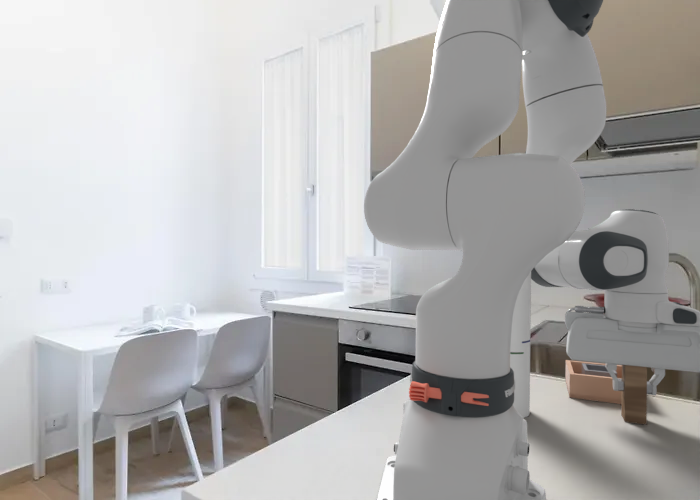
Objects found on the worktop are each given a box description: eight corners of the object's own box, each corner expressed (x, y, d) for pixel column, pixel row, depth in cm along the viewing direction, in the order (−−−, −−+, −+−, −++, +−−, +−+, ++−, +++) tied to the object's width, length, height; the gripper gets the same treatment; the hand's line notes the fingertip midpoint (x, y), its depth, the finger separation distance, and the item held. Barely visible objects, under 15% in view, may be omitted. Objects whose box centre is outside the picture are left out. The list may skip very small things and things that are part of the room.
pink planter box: (637, 406, 79) (638, 379, 78) (569, 397, 83) (569, 372, 83) (625, 387, 89) (626, 364, 89) (565, 381, 93) (565, 358, 93)
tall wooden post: (646, 424, 70) (647, 350, 70) (624, 421, 72) (625, 348, 71) (642, 417, 73) (642, 346, 73) (621, 415, 74) (621, 344, 74)
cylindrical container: (538, 413, 75) (540, 267, 75) (511, 421, 71) (512, 268, 71) (504, 400, 81) (505, 265, 81) (477, 407, 77) (478, 266, 77)
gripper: (566, 307, 73) (565, 389, 73) (718, 315, 65) (717, 407, 66) (563, 302, 79) (562, 378, 79) (703, 309, 71) (701, 394, 71)
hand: (633, 392), depth 72 cm, fingers closed on tall wooden post, 3 cm apart
